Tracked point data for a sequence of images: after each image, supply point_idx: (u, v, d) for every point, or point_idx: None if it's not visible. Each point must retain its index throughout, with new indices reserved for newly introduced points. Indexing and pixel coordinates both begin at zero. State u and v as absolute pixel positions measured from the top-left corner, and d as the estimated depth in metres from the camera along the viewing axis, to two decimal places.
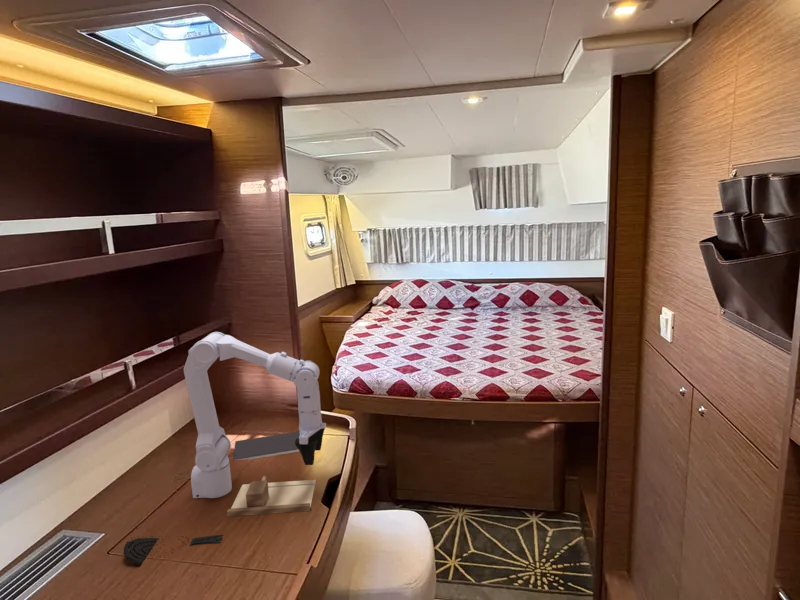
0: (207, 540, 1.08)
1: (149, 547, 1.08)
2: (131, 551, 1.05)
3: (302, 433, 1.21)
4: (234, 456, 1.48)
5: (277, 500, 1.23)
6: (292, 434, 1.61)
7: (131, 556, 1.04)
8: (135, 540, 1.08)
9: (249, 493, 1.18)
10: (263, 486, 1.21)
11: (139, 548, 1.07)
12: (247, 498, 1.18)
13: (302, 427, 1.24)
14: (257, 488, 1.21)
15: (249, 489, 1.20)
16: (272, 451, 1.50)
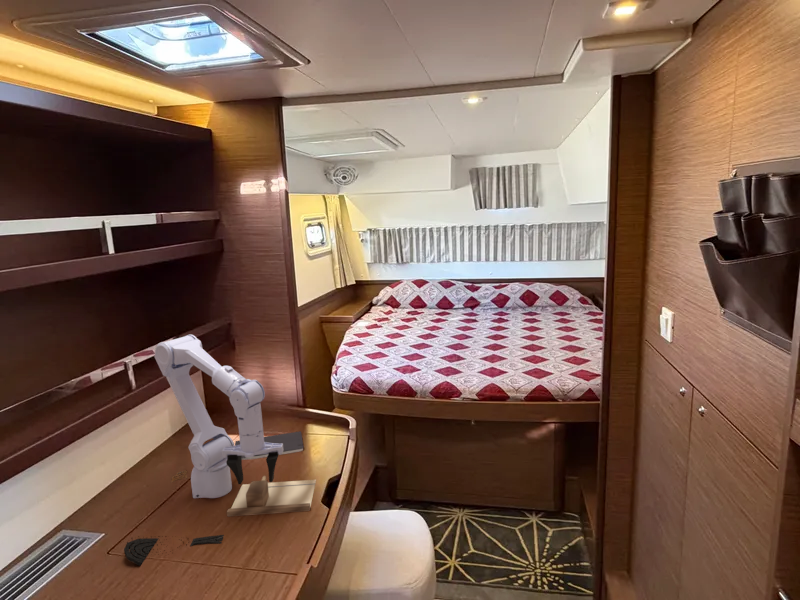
0: (208, 540, 1.08)
1: (150, 547, 1.08)
2: (132, 551, 1.05)
3: (234, 447, 1.20)
4: None
5: (277, 500, 1.23)
6: (292, 434, 1.61)
7: (132, 556, 1.04)
8: (136, 540, 1.08)
9: (249, 493, 1.18)
10: (263, 486, 1.21)
11: (140, 548, 1.07)
12: (247, 498, 1.18)
13: None
14: (257, 488, 1.21)
15: (249, 489, 1.20)
16: None
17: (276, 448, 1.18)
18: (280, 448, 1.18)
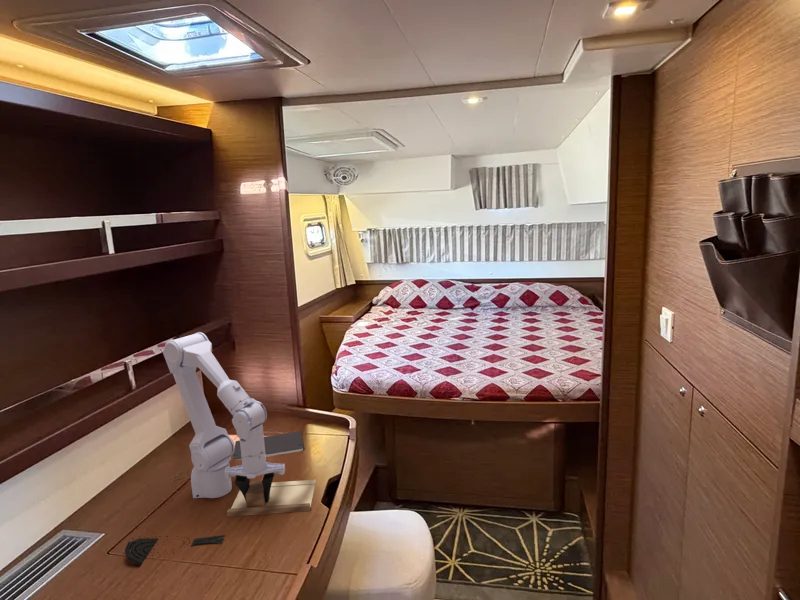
0: (208, 541, 1.08)
1: (150, 547, 1.08)
2: (132, 551, 1.05)
3: (236, 467, 1.21)
4: (234, 456, 1.48)
5: (277, 500, 1.23)
6: (292, 434, 1.61)
7: (132, 556, 1.04)
8: (136, 540, 1.08)
9: (249, 493, 1.18)
10: None
11: (140, 548, 1.07)
12: (247, 498, 1.18)
13: None
14: (257, 488, 1.21)
15: (249, 489, 1.20)
16: (272, 451, 1.50)
17: (278, 469, 1.19)
18: (282, 469, 1.19)
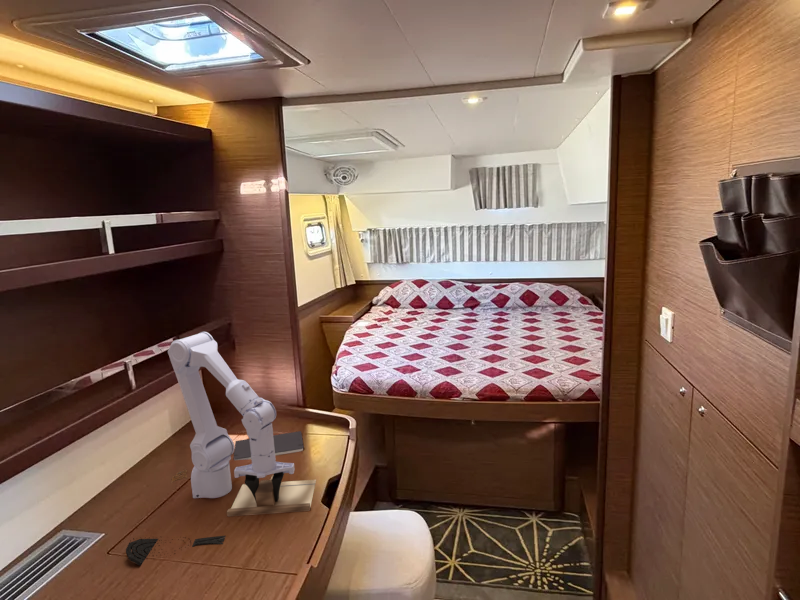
0: (209, 541, 1.07)
1: (151, 548, 1.07)
2: (133, 552, 1.05)
3: (246, 467, 1.21)
4: (234, 456, 1.48)
5: None
6: (292, 434, 1.61)
7: (133, 557, 1.04)
8: (137, 541, 1.08)
9: (259, 492, 1.19)
10: (272, 485, 1.21)
11: (141, 549, 1.06)
12: (257, 497, 1.18)
13: None
14: (266, 486, 1.21)
15: (258, 488, 1.20)
16: None
17: (287, 468, 1.19)
18: (291, 468, 1.19)
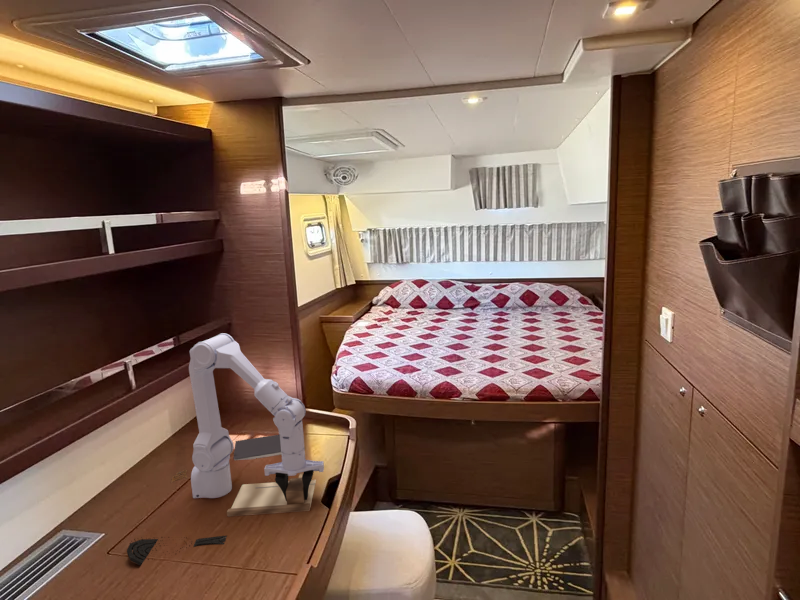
0: (211, 541, 1.07)
1: None
2: (134, 552, 1.05)
3: (275, 465, 1.21)
4: (234, 456, 1.48)
5: (277, 500, 1.23)
6: None
7: (134, 557, 1.03)
8: (138, 541, 1.08)
9: (289, 490, 1.19)
10: (302, 483, 1.22)
11: (142, 549, 1.06)
12: (287, 495, 1.19)
13: None
14: (296, 485, 1.21)
15: (288, 486, 1.21)
16: (272, 451, 1.50)
17: (317, 466, 1.20)
18: (321, 466, 1.20)
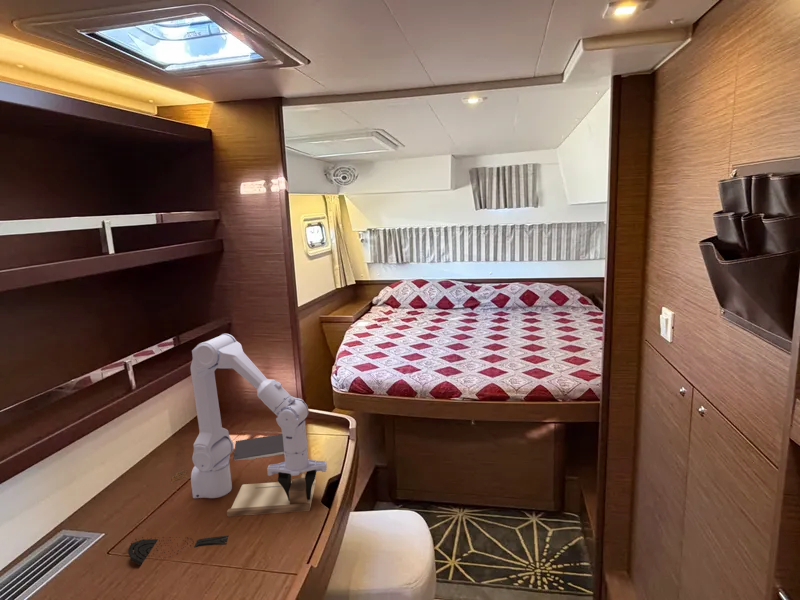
0: (212, 541, 1.07)
1: None
2: (136, 552, 1.05)
3: (278, 465, 1.21)
4: (234, 456, 1.48)
5: (277, 500, 1.23)
6: None
7: (136, 557, 1.03)
8: (139, 541, 1.08)
9: (292, 490, 1.19)
10: (305, 483, 1.22)
11: (144, 549, 1.06)
12: (290, 495, 1.19)
13: None
14: (299, 485, 1.21)
15: (291, 486, 1.21)
16: (272, 451, 1.50)
17: (320, 466, 1.20)
18: (324, 466, 1.20)
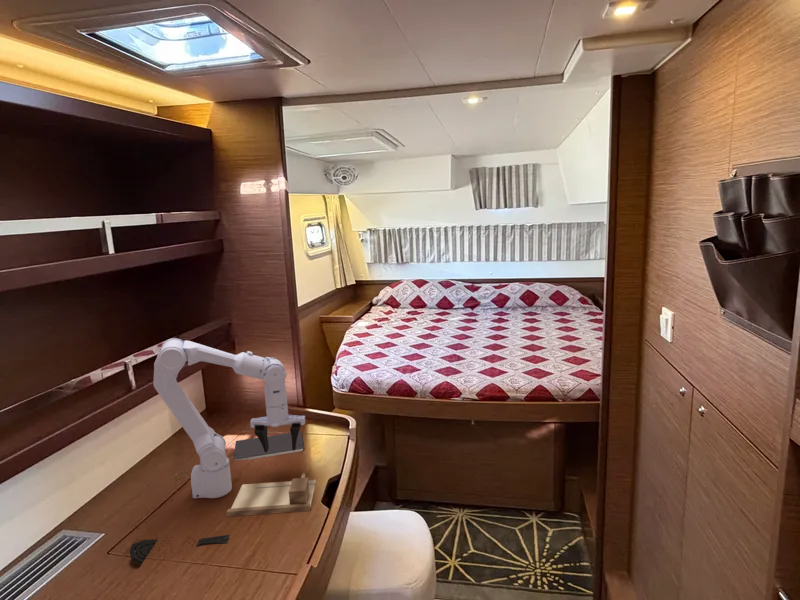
0: (214, 540, 1.08)
1: None
2: (137, 553, 1.05)
3: (261, 418, 1.32)
4: (234, 456, 1.48)
5: (277, 500, 1.23)
6: None
7: (137, 558, 1.03)
8: (141, 542, 1.08)
9: (292, 490, 1.19)
10: (305, 483, 1.22)
11: (145, 550, 1.06)
12: (290, 495, 1.19)
13: None
14: (299, 485, 1.21)
15: (291, 486, 1.21)
16: (272, 451, 1.50)
17: (299, 419, 1.31)
18: (302, 419, 1.31)
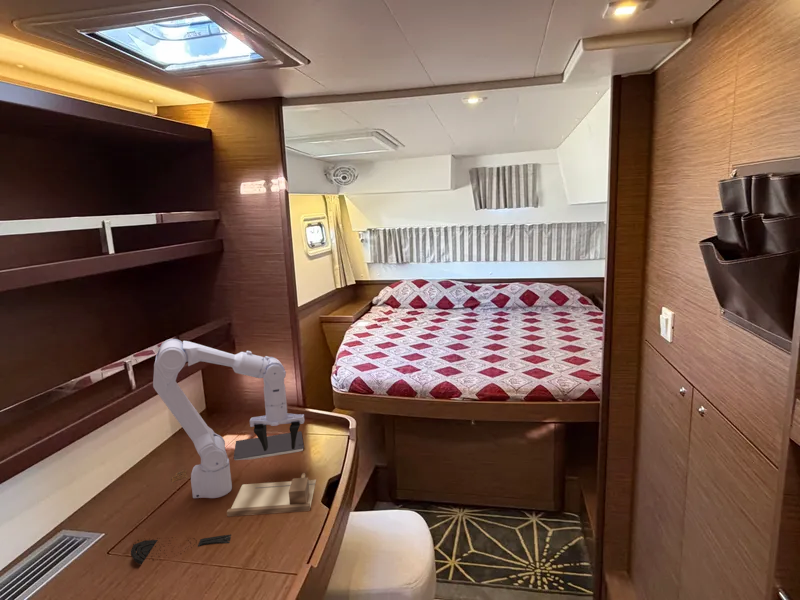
0: (215, 540, 1.08)
1: None
2: (138, 553, 1.04)
3: (260, 417, 1.33)
4: (234, 456, 1.48)
5: (277, 500, 1.23)
6: None
7: (139, 558, 1.03)
8: (142, 542, 1.08)
9: (292, 490, 1.19)
10: (305, 483, 1.22)
11: (146, 550, 1.06)
12: (290, 495, 1.19)
13: None
14: (299, 485, 1.21)
15: (291, 486, 1.21)
16: (272, 451, 1.50)
17: (298, 418, 1.31)
18: (302, 418, 1.32)
